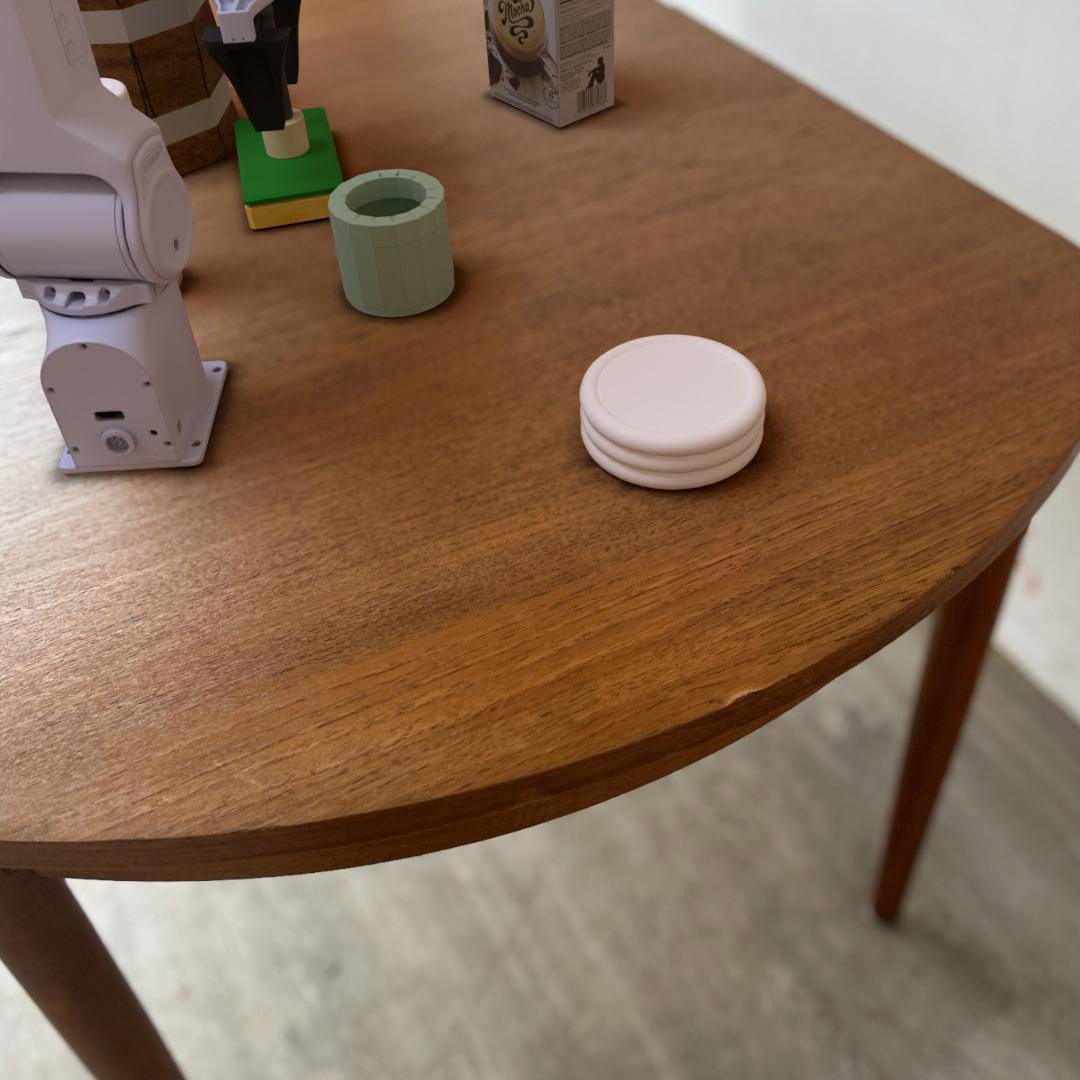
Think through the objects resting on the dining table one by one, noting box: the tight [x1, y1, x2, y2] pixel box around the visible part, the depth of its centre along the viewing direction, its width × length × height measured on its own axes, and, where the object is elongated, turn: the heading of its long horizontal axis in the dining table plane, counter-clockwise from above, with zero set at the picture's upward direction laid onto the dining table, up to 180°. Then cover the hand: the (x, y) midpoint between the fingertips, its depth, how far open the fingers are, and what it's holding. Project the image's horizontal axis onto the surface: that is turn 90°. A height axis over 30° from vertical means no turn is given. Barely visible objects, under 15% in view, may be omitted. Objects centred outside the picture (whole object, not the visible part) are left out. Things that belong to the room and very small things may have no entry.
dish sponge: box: [234, 106, 345, 230], centre depth 89 cm, size 7×14×2 cm, turn 13°
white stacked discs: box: [578, 334, 768, 491], centre depth 65 cm, size 10×10×4 cm
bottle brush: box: [254, 3, 309, 159], centre depth 85 cm, size 3×3×11 cm
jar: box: [328, 168, 456, 318], centre depth 76 cm, size 7×7×6 cm
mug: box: [77, 0, 241, 176], centre depth 93 cm, size 20×14×15 cm
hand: (277, 105), depth 86 cm, fingers open, 7 cm apart
